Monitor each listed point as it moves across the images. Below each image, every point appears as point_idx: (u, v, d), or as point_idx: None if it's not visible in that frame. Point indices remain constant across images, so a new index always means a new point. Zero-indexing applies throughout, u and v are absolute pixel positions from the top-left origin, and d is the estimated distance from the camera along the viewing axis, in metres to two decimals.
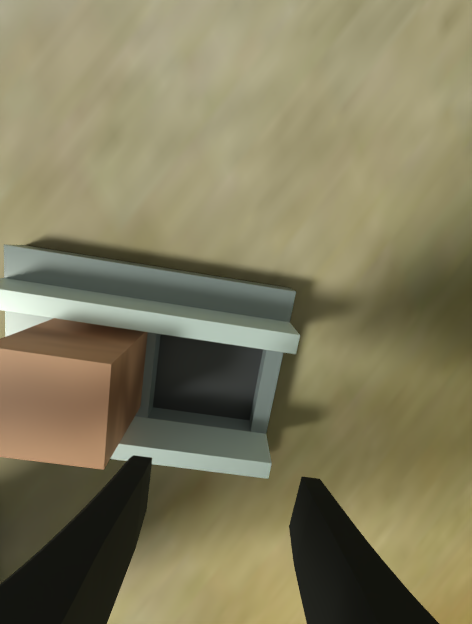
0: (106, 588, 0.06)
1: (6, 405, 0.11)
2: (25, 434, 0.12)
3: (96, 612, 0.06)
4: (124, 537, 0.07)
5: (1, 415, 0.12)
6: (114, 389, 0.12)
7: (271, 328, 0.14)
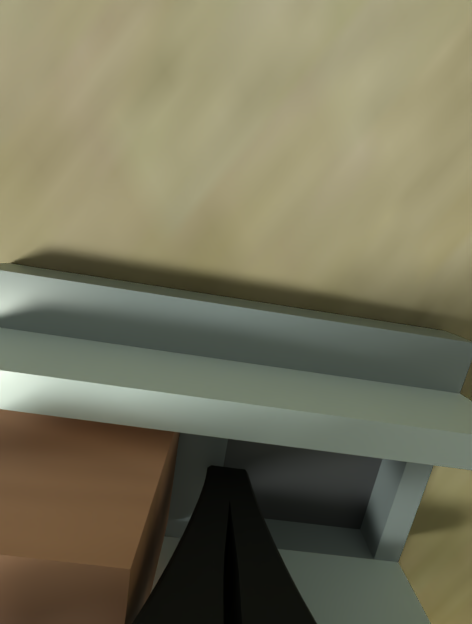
0: None
1: None
2: None
3: None
4: None
5: None
6: (134, 595, 0.05)
7: (471, 424, 0.07)
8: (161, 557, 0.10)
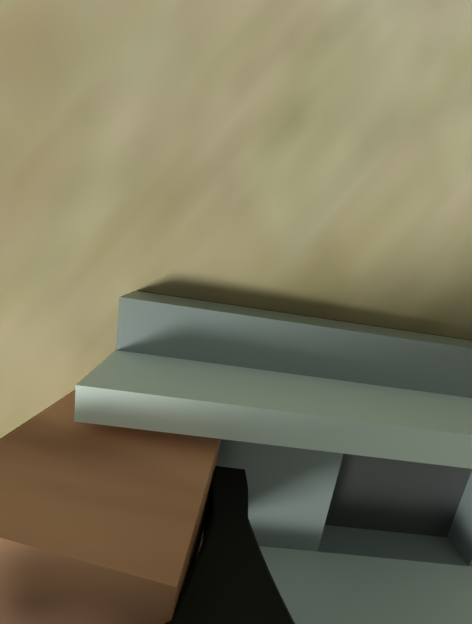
0: None
1: None
2: None
3: None
4: None
5: None
6: None
7: None
8: (279, 568, 0.10)
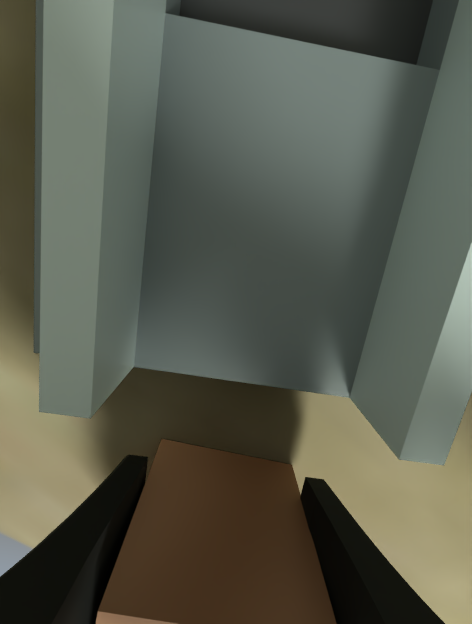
0: (100, 587, 0.06)
1: None
2: None
3: (89, 611, 0.06)
4: (118, 536, 0.07)
5: None
6: None
7: None
8: (440, 136, 0.06)
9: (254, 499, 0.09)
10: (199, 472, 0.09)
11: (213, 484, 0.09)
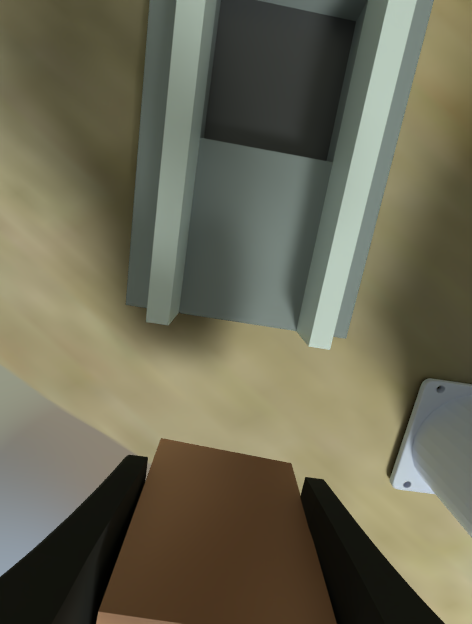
0: (100, 587, 0.06)
1: None
2: None
3: (89, 611, 0.06)
4: (118, 536, 0.07)
5: None
6: None
7: None
8: (330, 196, 0.13)
9: (253, 498, 0.09)
10: (199, 471, 0.09)
11: (213, 483, 0.09)
